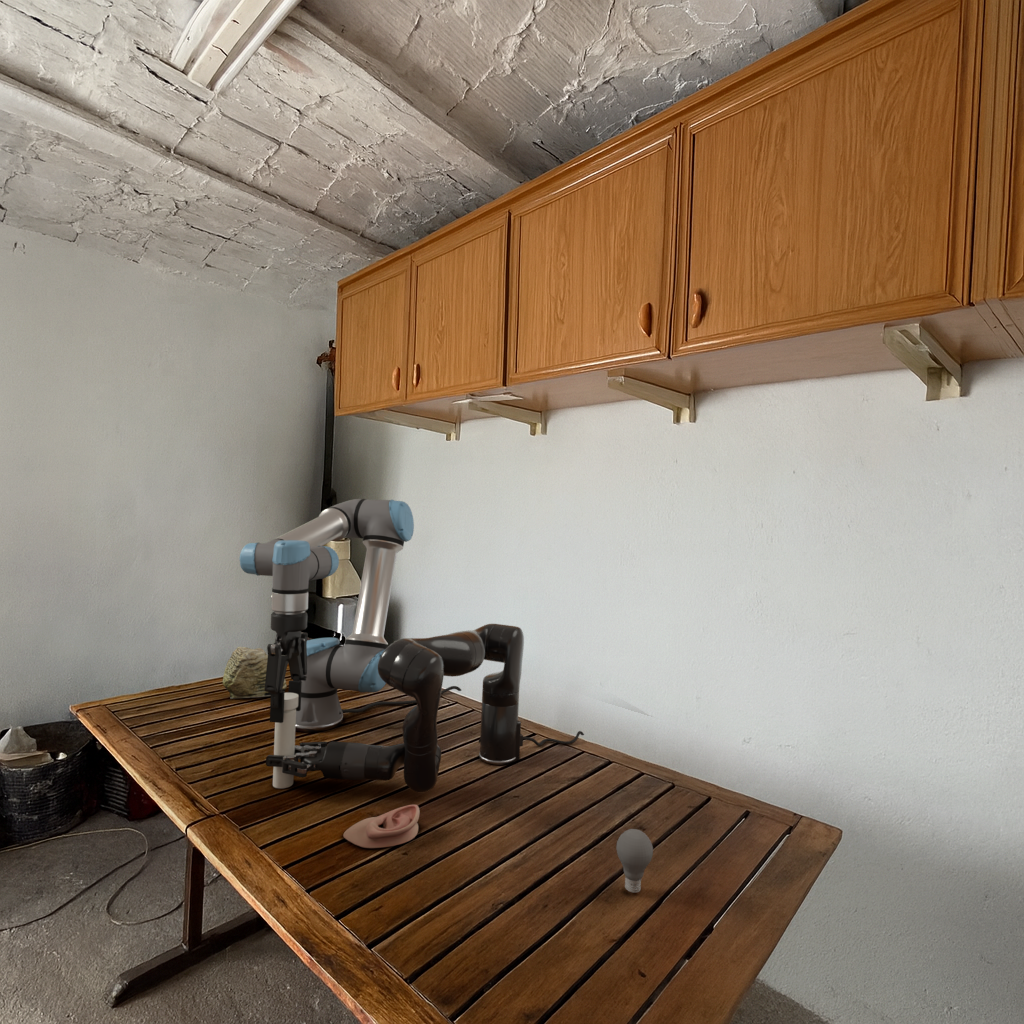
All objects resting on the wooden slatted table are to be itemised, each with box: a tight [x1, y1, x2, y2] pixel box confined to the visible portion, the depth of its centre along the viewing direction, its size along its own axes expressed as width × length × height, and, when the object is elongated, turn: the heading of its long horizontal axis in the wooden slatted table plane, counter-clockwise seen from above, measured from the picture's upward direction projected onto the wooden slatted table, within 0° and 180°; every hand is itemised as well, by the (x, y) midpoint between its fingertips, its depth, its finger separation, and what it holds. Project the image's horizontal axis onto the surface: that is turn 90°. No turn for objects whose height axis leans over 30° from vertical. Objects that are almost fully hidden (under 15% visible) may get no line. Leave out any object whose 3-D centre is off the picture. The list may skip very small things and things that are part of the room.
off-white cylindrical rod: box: [272, 708, 296, 789], centre depth 139 cm, size 4×4×18 cm
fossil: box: [222, 646, 288, 699], centre depth 198 cm, size 9×18×15 cm, turn 132°
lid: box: [284, 692, 298, 710], centre depth 138 cm, size 5×5×2 cm
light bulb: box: [615, 828, 654, 894], centre depth 106 cm, size 6×6×10 cm
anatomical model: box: [342, 804, 421, 849], centre depth 120 cm, size 13×4×12 cm
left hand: (285, 715), depth 138 cm, fingers open, 7 cm apart
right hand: (271, 755), depth 139 cm, fingers closed on off-white cylindrical rod, 4 cm apart
